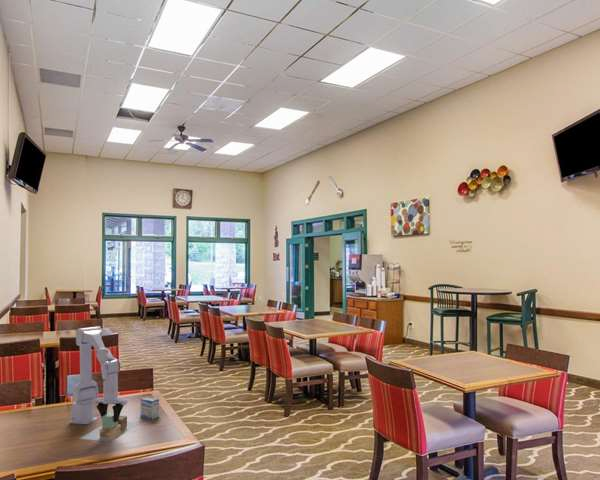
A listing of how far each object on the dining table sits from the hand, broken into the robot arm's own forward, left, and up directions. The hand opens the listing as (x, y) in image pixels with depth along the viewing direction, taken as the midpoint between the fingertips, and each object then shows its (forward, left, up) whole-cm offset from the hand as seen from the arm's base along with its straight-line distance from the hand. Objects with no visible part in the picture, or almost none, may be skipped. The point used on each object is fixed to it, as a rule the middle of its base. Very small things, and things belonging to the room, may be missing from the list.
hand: (110, 421), depth 197 cm
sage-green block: (0, 0, -2) cm, 2 cm away
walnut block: (0, +7, -6) cm, 9 cm away
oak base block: (0, 0, -6) cm, 6 cm away
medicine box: (+5, +24, -7) cm, 25 cm away
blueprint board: (-3, +5, -6) cm, 9 cm away
